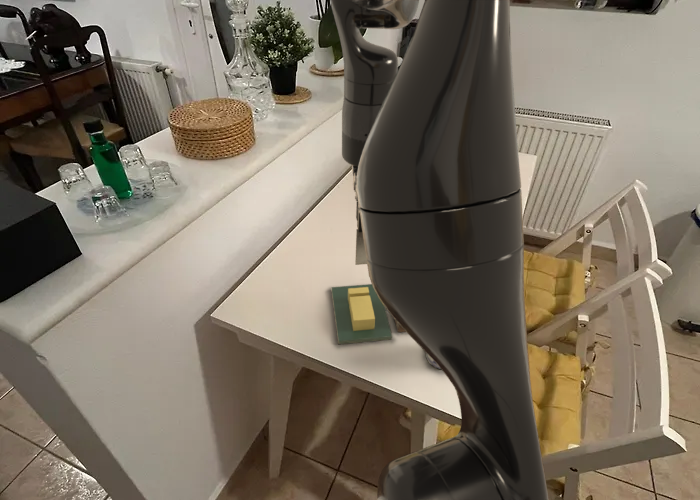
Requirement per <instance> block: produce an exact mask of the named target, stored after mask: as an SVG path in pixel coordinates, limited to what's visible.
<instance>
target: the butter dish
mask: <svg viewBox="0 0 700 500" xmlns="http://www.w3.org/2000/svg"><path fill="white" fill-rule="evenodd" d="M362 287H368V289H369V295H370V298H371V303H372V307H373V312H374V316H375V326H374V329H370V330H359V331H353V326H352V320H351V314H350V308H349V302H348V289H349V288H362ZM330 289H331V298H332V306H333V312H334V320H335V321H334V322H335V327H336V329H335V330H336V335H337V344H338V345H346V344H347V345H348V344H357V343H358V344H359V343H368V342H369V343H370V342H379V341H389V340H390V341H391V340H393V335H392V331H391V327H390V323H389V319H388V315H387V309H386V308H385V306H384V305H383V304H382V302H381V301H380V299H379V297H378V296H377V294H376V292H375V290H374V288H373V286H372V283H368V284H367V283H366V284H357V285H342V286H331V288H330Z"/></svg>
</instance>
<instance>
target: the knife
mask: <svg viewBox="0 0 700 500" xmlns="http://www.w3.org/2000/svg"><path fill="white" fill-rule="evenodd" d="M358 214H359V211H358ZM358 214H357V219H356V231H355V266H359V265H367V260H366V252H365V245H364V238H363V231H362V230H359V228H358Z"/></svg>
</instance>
